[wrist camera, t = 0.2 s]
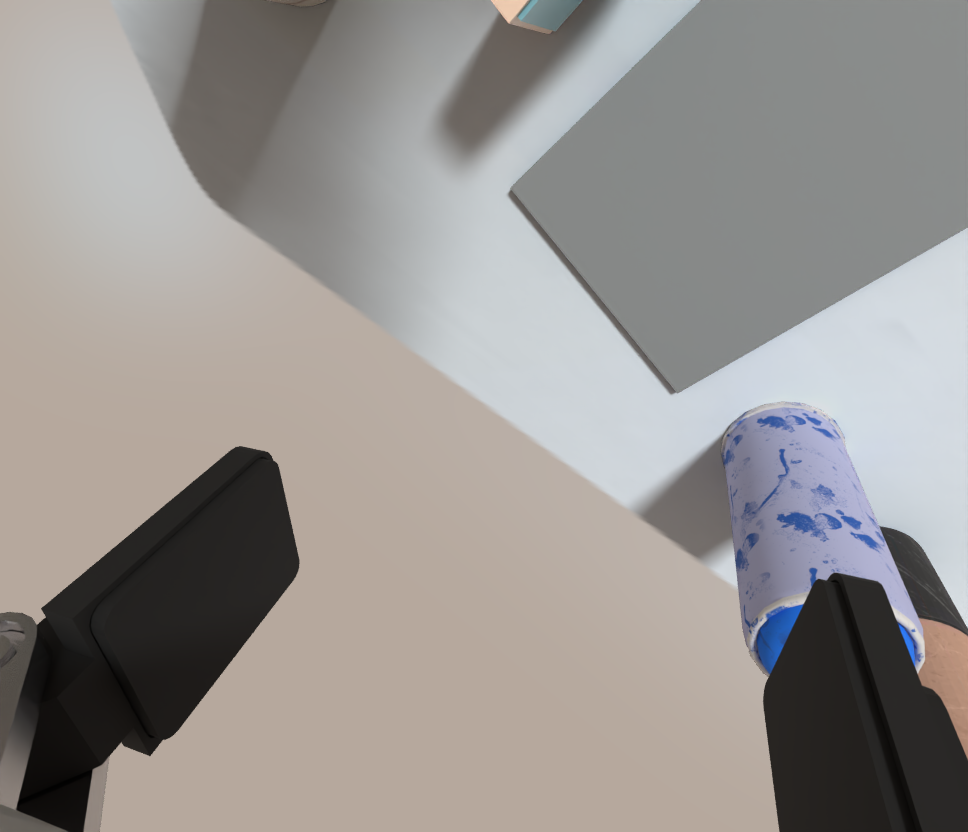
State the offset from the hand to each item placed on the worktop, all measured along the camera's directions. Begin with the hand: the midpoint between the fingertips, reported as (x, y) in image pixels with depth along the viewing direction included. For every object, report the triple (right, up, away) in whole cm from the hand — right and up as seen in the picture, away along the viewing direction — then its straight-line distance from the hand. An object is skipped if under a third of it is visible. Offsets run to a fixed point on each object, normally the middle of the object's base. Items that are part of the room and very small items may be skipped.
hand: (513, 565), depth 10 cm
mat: (+15, +16, +22) cm, 31 cm away
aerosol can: (+21, 0, +30) cm, 37 cm away
